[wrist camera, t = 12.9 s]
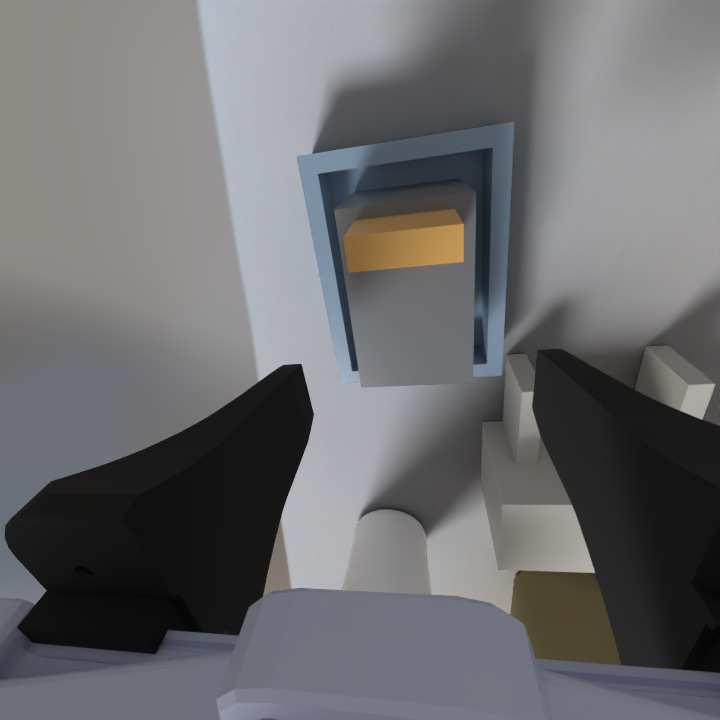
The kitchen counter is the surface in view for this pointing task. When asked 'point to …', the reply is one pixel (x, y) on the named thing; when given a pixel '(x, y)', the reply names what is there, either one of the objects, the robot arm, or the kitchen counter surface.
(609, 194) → the kitchen counter surface
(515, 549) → the bay
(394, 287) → the gray block with tab
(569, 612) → the squeeze bottle
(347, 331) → the tray
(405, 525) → the drinking glass
